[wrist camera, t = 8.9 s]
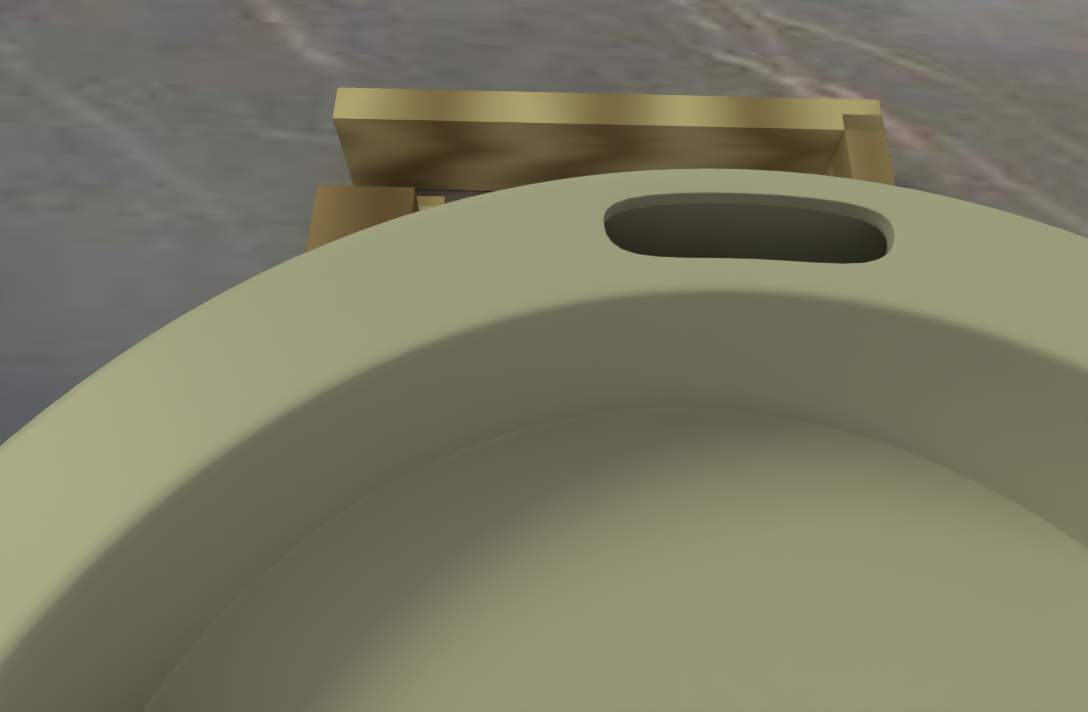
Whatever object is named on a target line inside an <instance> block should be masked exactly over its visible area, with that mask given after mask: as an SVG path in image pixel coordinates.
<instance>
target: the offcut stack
mask: <svg viewBox="0 0 1088 712" xmlns="http://www.w3.org/2000/svg"><path fill="white" fill-rule="evenodd" d="M442 204H446V201H445V197H441V196H416V191H415V188H414V187H371V186H327V185H317V190H316V196H315V201H314V207H313V213H312V219H311V225H310V230H309V236H308V242H307V248H306V252H309V251H311V250H313V249H315V248H318V247H320V246H322V245H325V244H327V243H330V242H332V241H335V240H338V239H340V238H343V237H345V236H348V235H350V234H353V233H356V232H358V231H361V230H364V229H367V228H369V227H372V226H375V225H378V224H381V223H384V222H387V221H389V220H392V219H395V218H398V217H402V216H405V215H408V214H411V213H415V212H418V211H421V210H424V209H428V208H431V207H435V206H438V205H442Z"/></svg>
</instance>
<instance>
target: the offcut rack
mask: <svg viewBox="0 0 1088 712" xmlns="http://www.w3.org/2000/svg"><path fill="white" fill-rule="evenodd" d="M333 121H334V124H335V127H336V130H337V134H338V137H339V140H340V143H341V147H342V150H343V153H344V156H345V160H346V163H347V166H348V169H349V173H350V176H351V179H352V182H353V185H354V186H371V187H414V188H415V189H426V190H470V191H499V190H504V189H509V188H514V187H519V186H524V185H529V184H535V183H541V182H547V181H553V180H560V179H566V178H574V177H582V176H590V175H598V174H608V173H619V172H631V171H645V170H665V169H749V170H768V171H784V172H795V173H806V174H817V175H825V176H833V177H841V178H850V179H856V180H862V181H869V182H875V183H882V184H888V185H893V186H896V185H895V180H894V175H893V170H892V165H891V160H890V155H889V150H888V144H887V139H886V134H885V129H884V124H883V119H882V114H881V109H880V103H879V100H862V99H817V98H772V97H728V96H683V95H639V94H594V93H550V92H505V91H461V90H416V89H372V88H338V90H337V96H336V102H335V108H334V114H333Z"/></svg>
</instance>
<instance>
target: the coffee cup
mask: <svg viewBox="0 0 1088 712" xmlns="http://www.w3.org/2000/svg"><path fill="white" fill-rule="evenodd" d="M0 712H1088V238H1085V237H1082V236H1079V235H1077V234H1074V233H1071V232H1068V231H1065V230H1062V229H1059V228H1056V227H1053V226H1050V225H1047V224H1044V223H1041V222H1038V221H1035V220H1032V219H1028V218H1025V217H1022V216H1018V215H1015V214H1011V213H1008V212H1005V211H1001V210H998V209H994V208H990V207H986V206H983V205H979V204H975V203H971V202H967V201H963V200H959V199H955V198H951V197H946V196H942V195H937V194H933V193H928V192H924V191H919V190H914V189H909V188H903V187H898V186H893V185H888V184H882V183H875V182H869V181H862V180H856V179H850V178H841V177H833V176H825V175H817V174H806V173H795V172H784V171H768V170H749V169H665V170H645V171H631V172H619V173H608V174H598V175H590V176H582V177H574V178H566V179H560V180H553V181H547V182H541V183H535V184H529V185H524V186H519V187H514V188H509V189H504V190H499V191H494V192H490V193H486V194H481V195H477V196H473V197H469V198H464V199H460V200H457V201H453V202H449V203H446V204H442V205H438V206H435V207H431V208H428V209H424V210H421V211H418V212H415V213H411V214H408V215H405V216H402V217H398V218H395V219H392V220H389V221H387V222H384V223H381V224H378V225H375V226H372V227H369V228H367V229H364V230H361V231H358V232H356V233H353V234H350V235H348V236H345V237H343V238H340V239H338V240H335V241H332V242H330V243H327V244H325V245H322V246H320V247H318V248H315V249H313V250H311V251H309V252H306V253H304V254H302V255H299V256H297V257H295V258H292V259H290V260H288V261H286V262H284V263H282V264H279V265H277V266H275V267H273V268H271V269H269V270H267V271H265V272H263V273H260V274H258V275H256V276H254V277H252V278H250V279H248V280H246V281H245V282H243V283H241V284H239V285H237V286H235V287H233V288H231V289H229V290H227V291H225V292H223V293H221V294H219V295H218V296H216V297H214V298H212V299H211V300H209V301H207V302H205V303H203V304H202V305H200V306H198V307H196V308H195V309H193V310H191V311H189V312H187V313H186V314H184V315H182V316H181V317H179V318H177V319H176V320H174V321H172V322H171V323H169V324H168V325H166V326H164V327H163V328H161V329H159V330H158V331H156V332H154V333H153V334H151V335H150V336H148V337H146V338H145V339H143V340H142V341H140V342H139V343H137V344H136V345H134V346H133V347H131V348H130V349H128V350H127V351H125V352H124V353H122V354H121V355H119V356H118V357H116V358H115V359H113V360H112V361H110V362H109V363H107V364H106V365H105V366H103V367H102V368H100V369H99V370H98V371H96V372H95V373H93V374H92V375H90V376H89V377H88V378H86V379H85V380H83V381H82V382H81V383H79V384H78V385H77V386H75V387H74V388H73V389H71V390H70V391H69V392H67V393H66V394H65V395H63V396H62V397H61V398H59V399H58V400H57V401H55V402H54V403H53V404H51V405H50V406H49V407H48V408H46V409H45V410H44V411H42V412H41V413H40V414H39V415H37V416H36V417H35V418H34V419H32V420H31V421H30V422H29V423H28V424H26V425H25V426H24V427H23V428H21V429H20V430H19V431H18V432H16V433H15V434H14V435H13V436H12V437H10V438H9V439H8V440H7V441H6V442H4V443H3V444H2V445H1V446H0Z"/></svg>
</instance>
